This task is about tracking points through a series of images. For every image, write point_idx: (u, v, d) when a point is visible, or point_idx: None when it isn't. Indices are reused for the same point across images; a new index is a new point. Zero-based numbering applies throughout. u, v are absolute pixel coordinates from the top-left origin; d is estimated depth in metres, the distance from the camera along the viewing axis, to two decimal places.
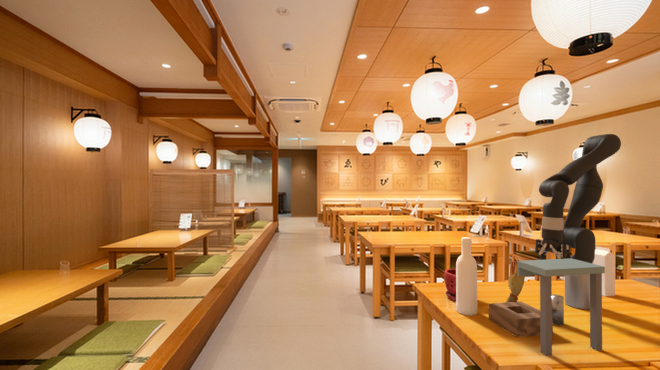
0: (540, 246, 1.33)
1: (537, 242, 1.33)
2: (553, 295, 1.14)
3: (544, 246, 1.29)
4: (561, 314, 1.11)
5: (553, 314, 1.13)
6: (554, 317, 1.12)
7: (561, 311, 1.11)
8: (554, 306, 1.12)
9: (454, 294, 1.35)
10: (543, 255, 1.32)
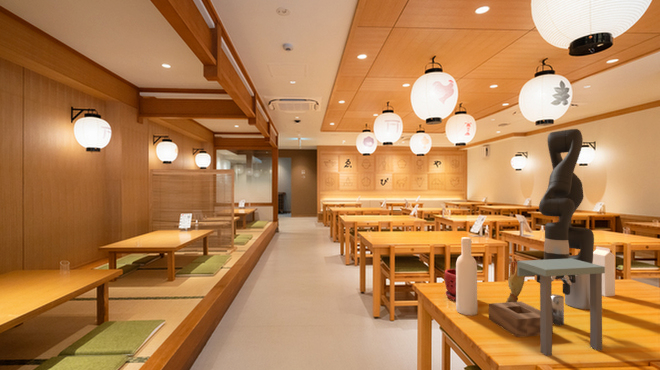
0: None
1: None
2: (553, 295, 1.14)
3: None
4: (561, 314, 1.11)
5: (553, 314, 1.13)
6: (554, 317, 1.12)
7: (561, 311, 1.11)
8: (554, 306, 1.12)
9: (454, 294, 1.35)
10: None
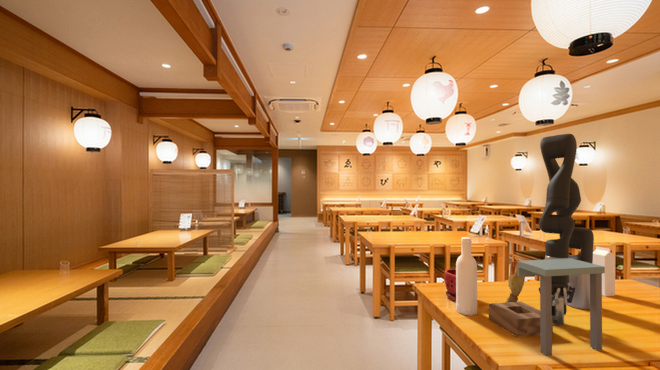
0: None
1: None
2: None
3: (557, 292, 1.11)
4: (561, 314, 1.11)
5: None
6: (554, 317, 1.12)
7: (561, 311, 1.11)
8: (555, 306, 1.12)
9: (454, 294, 1.35)
10: None
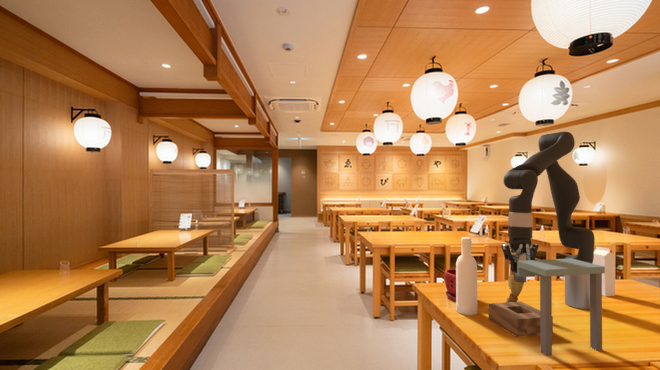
0: None
1: (508, 248, 1.09)
2: None
3: (520, 248, 1.09)
4: None
5: None
6: (516, 274, 1.10)
7: None
8: None
9: (454, 294, 1.35)
10: None
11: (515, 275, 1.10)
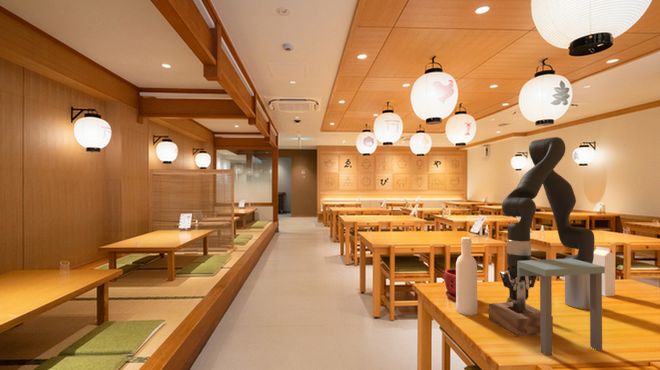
0: None
1: (507, 276, 1.09)
2: None
3: (518, 276, 1.09)
4: (522, 299, 1.09)
5: None
6: (515, 302, 1.10)
7: (522, 296, 1.09)
8: (516, 290, 1.10)
9: (454, 294, 1.35)
10: None
11: (514, 303, 1.10)
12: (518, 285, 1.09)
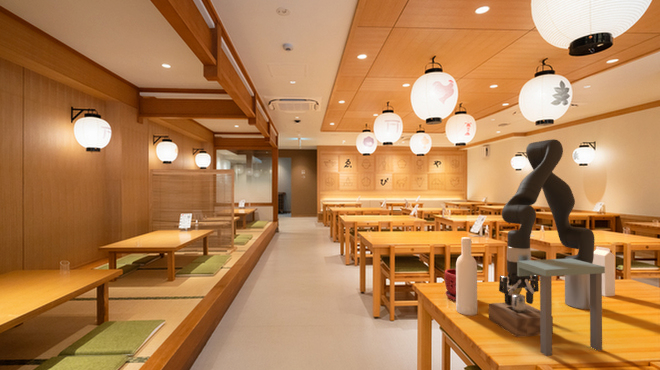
0: None
1: (506, 280, 1.09)
2: (514, 295, 1.12)
3: (518, 283, 1.09)
4: None
5: None
6: None
7: (522, 311, 1.09)
8: (516, 306, 1.10)
9: (454, 294, 1.35)
10: None
11: None
12: (517, 300, 1.09)
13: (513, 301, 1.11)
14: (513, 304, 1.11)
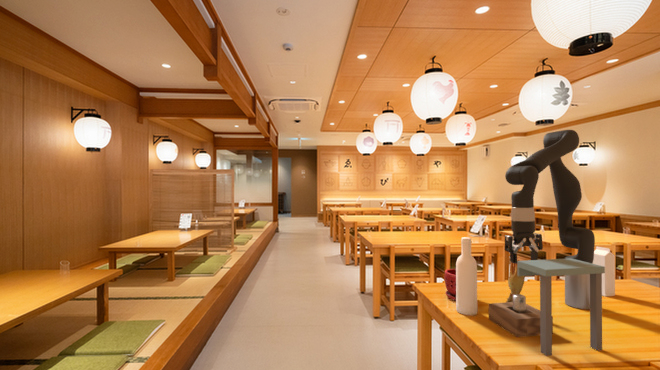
0: None
1: (511, 239, 1.12)
2: (515, 295, 1.12)
3: (522, 241, 1.12)
4: None
5: None
6: None
7: (522, 311, 1.09)
8: (516, 306, 1.10)
9: (454, 294, 1.35)
10: None
11: None
12: (518, 300, 1.09)
13: (514, 301, 1.11)
14: (514, 304, 1.11)
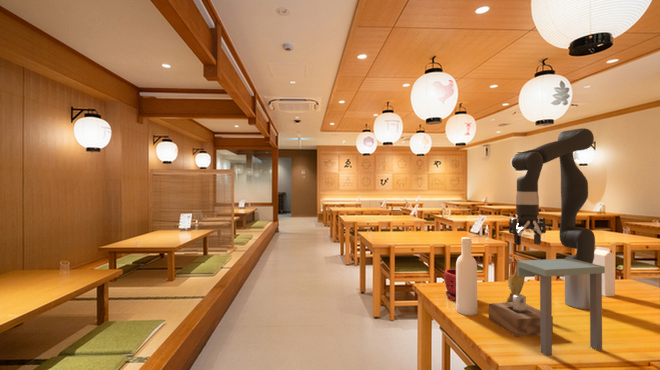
0: None
1: (515, 222, 1.17)
2: (515, 295, 1.11)
3: (526, 224, 1.17)
4: None
5: None
6: None
7: (523, 311, 1.09)
8: (516, 306, 1.10)
9: (454, 294, 1.35)
10: None
11: None
12: (518, 301, 1.09)
13: (514, 301, 1.11)
14: (514, 304, 1.11)
